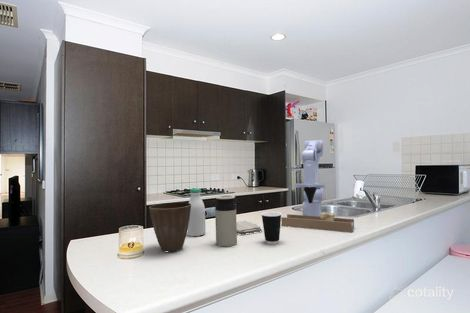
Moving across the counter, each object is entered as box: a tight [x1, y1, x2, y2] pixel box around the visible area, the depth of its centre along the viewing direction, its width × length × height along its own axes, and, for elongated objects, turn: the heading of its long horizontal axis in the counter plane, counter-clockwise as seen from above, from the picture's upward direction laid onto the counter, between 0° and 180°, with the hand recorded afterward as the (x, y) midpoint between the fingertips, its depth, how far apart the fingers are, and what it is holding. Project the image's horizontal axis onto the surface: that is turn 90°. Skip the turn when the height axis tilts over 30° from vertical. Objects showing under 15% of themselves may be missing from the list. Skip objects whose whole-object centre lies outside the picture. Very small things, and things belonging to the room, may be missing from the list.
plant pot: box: [148, 201, 191, 252], centre depth 101 cm, size 15×15×16 cm
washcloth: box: [236, 220, 263, 234], centre depth 127 cm, size 12×18×3 cm, turn 28°
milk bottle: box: [187, 187, 206, 237], centre depth 120 cm, size 8×8×20 cm
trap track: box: [281, 213, 355, 234], centre depth 128 cm, size 31×9×4 cm, turn 60°
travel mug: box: [214, 194, 238, 247], centre depth 106 cm, size 8×8×18 cm
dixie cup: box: [260, 211, 282, 245], centre depth 106 cm, size 8×8×11 cm
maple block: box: [320, 211, 335, 221], centre depth 126 cm, size 5×5×4 cm
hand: (310, 202), depth 133 cm, fingers closed
